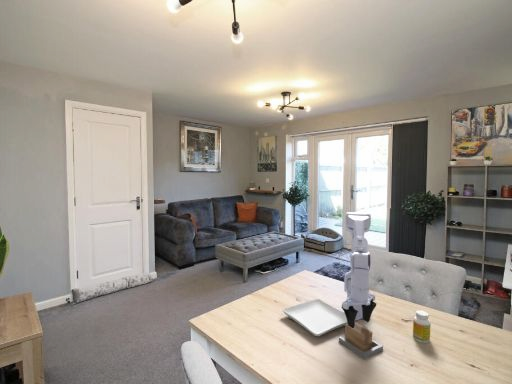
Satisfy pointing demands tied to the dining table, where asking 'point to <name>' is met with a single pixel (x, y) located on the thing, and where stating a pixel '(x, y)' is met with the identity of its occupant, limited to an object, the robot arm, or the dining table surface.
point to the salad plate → (316, 316)
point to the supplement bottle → (421, 326)
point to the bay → (362, 354)
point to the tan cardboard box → (359, 336)
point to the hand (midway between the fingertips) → (358, 323)
